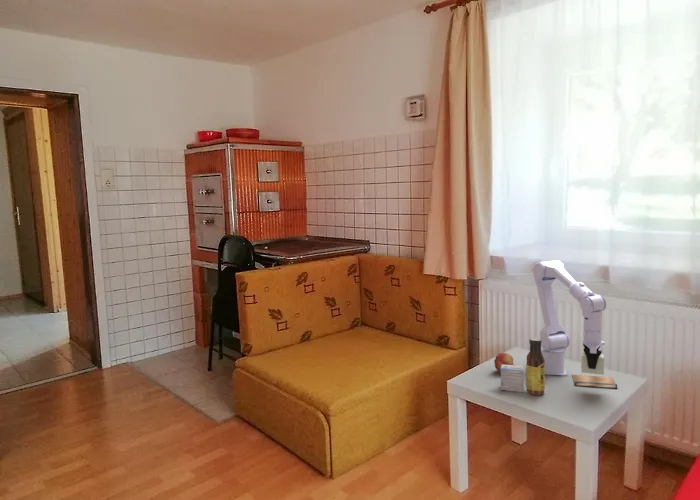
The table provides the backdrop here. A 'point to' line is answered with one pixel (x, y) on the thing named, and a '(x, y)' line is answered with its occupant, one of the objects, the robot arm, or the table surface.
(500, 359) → the fruit
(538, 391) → the sauce bottle
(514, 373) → the medicine box
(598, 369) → the carton
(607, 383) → the brown book
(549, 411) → the table surface
